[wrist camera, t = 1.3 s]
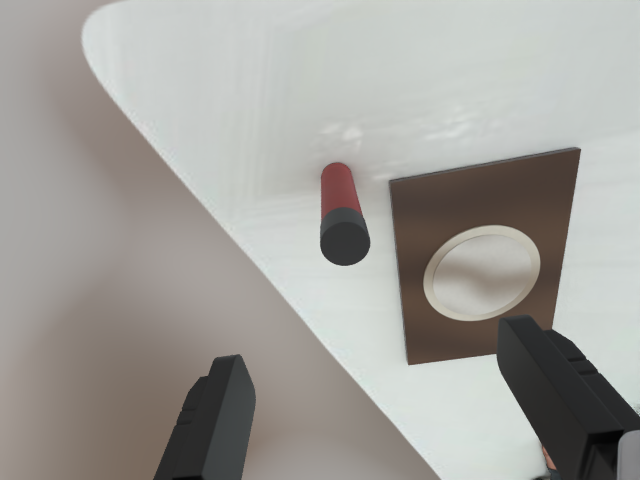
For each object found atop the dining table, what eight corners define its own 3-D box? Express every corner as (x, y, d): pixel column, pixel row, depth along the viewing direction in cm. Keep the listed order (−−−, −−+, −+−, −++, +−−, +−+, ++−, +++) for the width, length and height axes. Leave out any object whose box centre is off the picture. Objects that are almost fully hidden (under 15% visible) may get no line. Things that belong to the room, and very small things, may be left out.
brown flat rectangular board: (388, 180, 27) (391, 184, 26) (576, 147, 26) (584, 149, 25) (407, 361, 36) (409, 367, 35) (545, 342, 35) (550, 349, 34)
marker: (317, 165, 26) (315, 227, 17) (350, 159, 26) (367, 218, 16) (323, 195, 28) (325, 269, 18) (354, 189, 27) (373, 262, 18)
